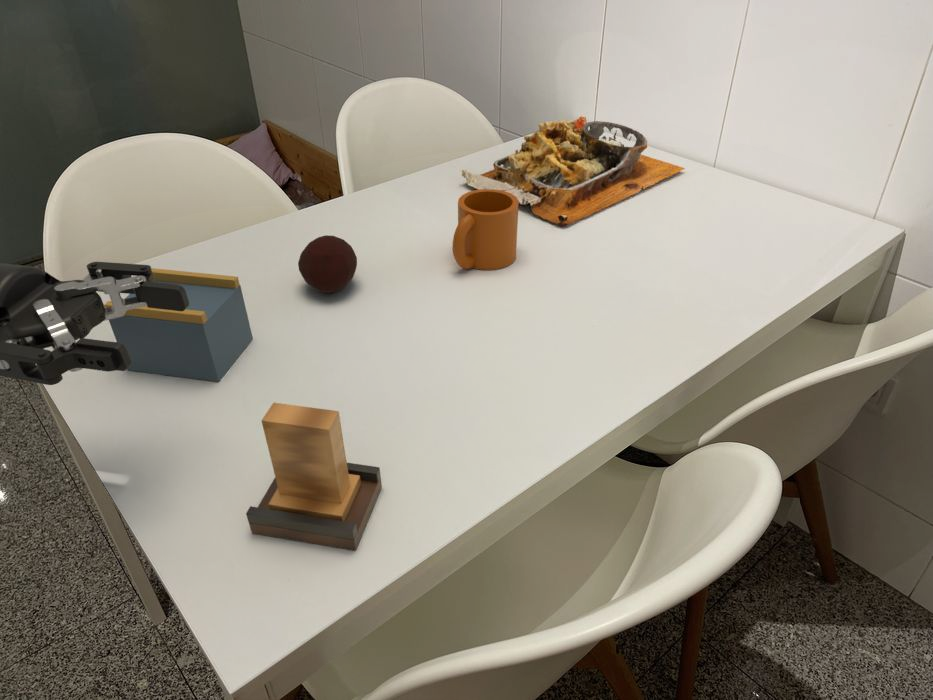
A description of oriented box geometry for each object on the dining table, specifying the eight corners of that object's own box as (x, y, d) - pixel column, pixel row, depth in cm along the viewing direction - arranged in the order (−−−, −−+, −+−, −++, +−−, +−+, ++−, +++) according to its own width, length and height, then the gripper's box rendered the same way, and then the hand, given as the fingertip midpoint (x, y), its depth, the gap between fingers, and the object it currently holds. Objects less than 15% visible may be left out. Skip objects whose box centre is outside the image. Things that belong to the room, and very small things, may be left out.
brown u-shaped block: (251, 533, 64) (245, 513, 62) (286, 472, 70) (281, 452, 68) (355, 551, 62) (352, 530, 60) (382, 486, 68) (379, 466, 66)
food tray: (580, 139, 147) (585, 87, 141) (685, 172, 132) (695, 115, 126) (458, 185, 128) (456, 127, 122) (563, 229, 113) (568, 166, 107)
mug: (429, 261, 105) (427, 205, 100) (489, 237, 111) (490, 183, 106) (468, 284, 99) (467, 226, 94) (529, 257, 105) (531, 202, 100)
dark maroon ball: (357, 269, 103) (351, 221, 99) (362, 301, 96) (357, 251, 91) (302, 275, 102) (293, 227, 97) (303, 308, 95) (294, 257, 90)
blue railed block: (127, 370, 84) (102, 305, 78) (167, 329, 91) (148, 266, 85) (218, 382, 82) (200, 316, 76) (253, 338, 89) (238, 275, 83)
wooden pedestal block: (270, 513, 64) (248, 429, 58) (292, 473, 67) (274, 392, 62) (343, 524, 62) (328, 441, 56) (361, 484, 66) (349, 402, 60)
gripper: (-109, 314, 51) (86, 338, 49) (27, 228, 63) (192, 244, 60) (-62, 392, 56) (119, 419, 53) (57, 299, 67) (211, 317, 64)
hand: (157, 326), depth 56 cm, fingers open, 8 cm apart
